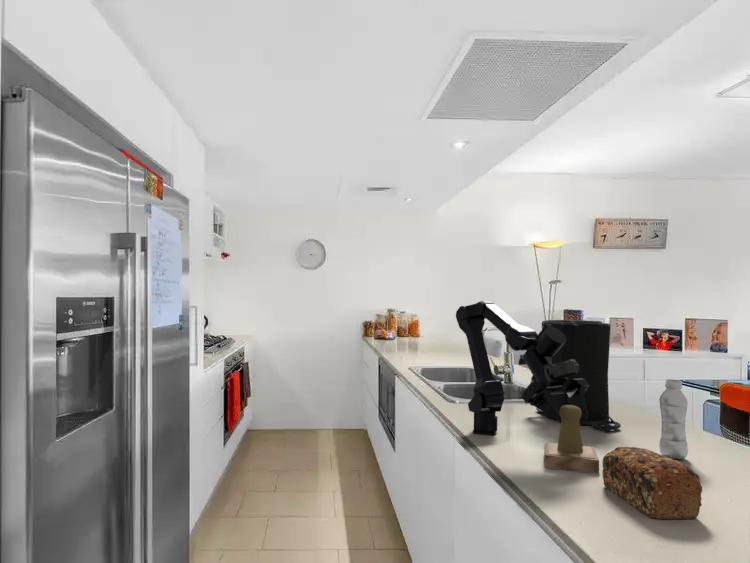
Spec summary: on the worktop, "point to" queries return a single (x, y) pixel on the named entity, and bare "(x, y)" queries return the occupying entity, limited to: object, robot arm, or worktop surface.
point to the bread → (653, 483)
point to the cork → (570, 430)
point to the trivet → (571, 459)
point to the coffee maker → (586, 367)
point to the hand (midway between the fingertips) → (573, 418)
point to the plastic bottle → (673, 421)
